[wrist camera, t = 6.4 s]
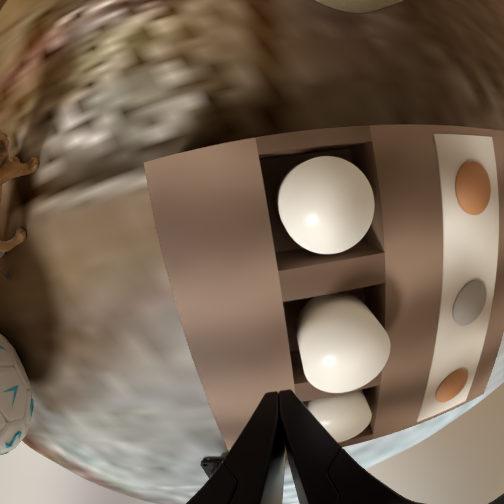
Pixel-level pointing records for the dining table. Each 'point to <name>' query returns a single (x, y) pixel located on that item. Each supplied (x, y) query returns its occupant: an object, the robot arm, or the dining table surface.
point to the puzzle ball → (13, 398)
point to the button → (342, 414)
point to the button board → (339, 266)
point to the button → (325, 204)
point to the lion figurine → (3, 171)
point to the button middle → (340, 342)
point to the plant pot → (358, 5)
